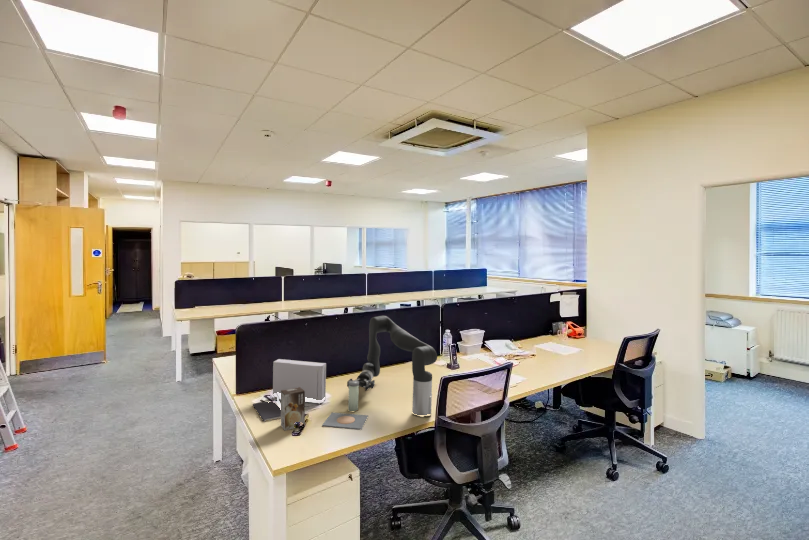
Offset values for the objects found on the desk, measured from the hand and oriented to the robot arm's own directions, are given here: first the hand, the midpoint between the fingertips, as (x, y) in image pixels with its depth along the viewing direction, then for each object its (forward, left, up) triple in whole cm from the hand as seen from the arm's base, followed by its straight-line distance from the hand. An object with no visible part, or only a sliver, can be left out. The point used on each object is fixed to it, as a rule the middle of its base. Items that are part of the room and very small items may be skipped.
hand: (357, 388), depth 198 cm
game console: (+31, +2, -8) cm, 32 cm away
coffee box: (+22, +31, -8) cm, 39 cm away
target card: (0, +22, -8) cm, 23 cm away
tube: (0, +9, -8) cm, 12 cm away
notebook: (+39, +17, -9) cm, 43 cm away
